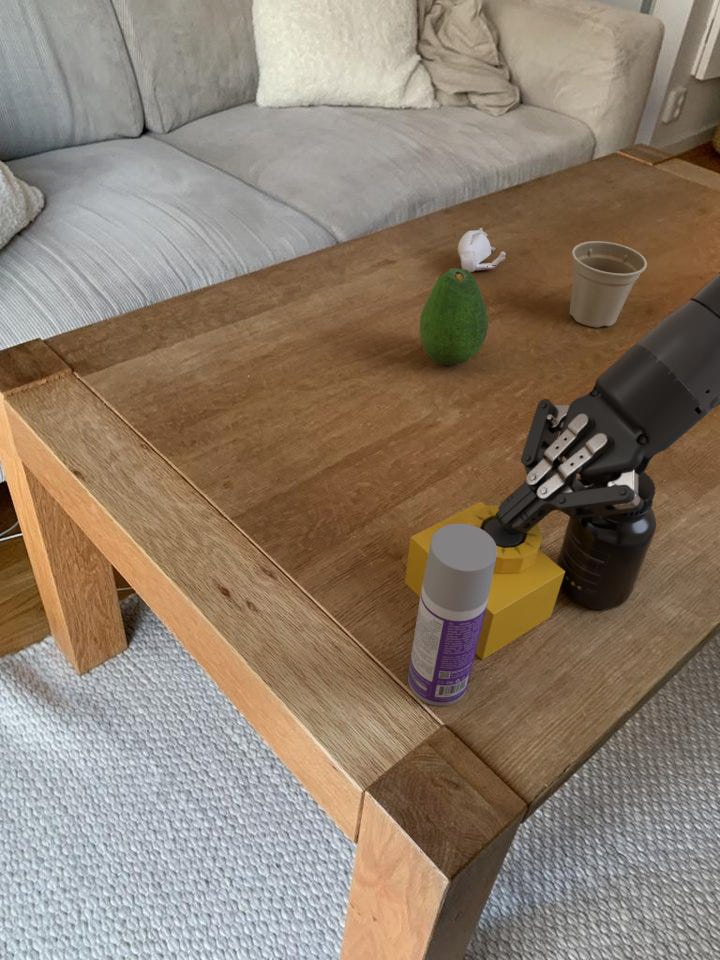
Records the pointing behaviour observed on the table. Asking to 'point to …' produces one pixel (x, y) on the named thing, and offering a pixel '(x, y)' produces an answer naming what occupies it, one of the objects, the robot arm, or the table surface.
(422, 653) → the container
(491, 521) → the dark grey push button
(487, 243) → the figurine
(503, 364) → the table surface
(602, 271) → the flower pot
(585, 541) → the supplement bottle
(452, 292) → the fruit
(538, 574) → the yellow knob cube
